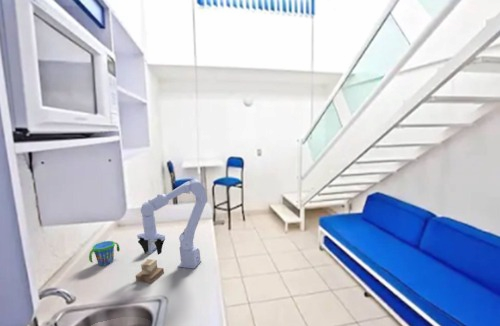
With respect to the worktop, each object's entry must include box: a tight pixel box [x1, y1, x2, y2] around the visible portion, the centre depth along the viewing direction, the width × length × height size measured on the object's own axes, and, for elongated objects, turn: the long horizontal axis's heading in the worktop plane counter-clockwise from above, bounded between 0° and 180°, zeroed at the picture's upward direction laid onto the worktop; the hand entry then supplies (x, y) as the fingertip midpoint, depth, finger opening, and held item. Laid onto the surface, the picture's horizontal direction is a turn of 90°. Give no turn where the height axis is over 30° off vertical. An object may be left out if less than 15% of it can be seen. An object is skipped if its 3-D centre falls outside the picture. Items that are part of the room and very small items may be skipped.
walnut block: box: [135, 267, 165, 284], centre depth 138 cm, size 9×9×3 cm
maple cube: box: [140, 259, 158, 275], centre depth 137 cm, size 5×5×5 cm
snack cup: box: [88, 240, 120, 266], centre depth 154 cm, size 16×10×10 cm
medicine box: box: [146, 239, 157, 254], centre depth 166 cm, size 8×4×9 cm, turn 168°
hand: (153, 252), depth 142 cm, fingers open, 7 cm apart
